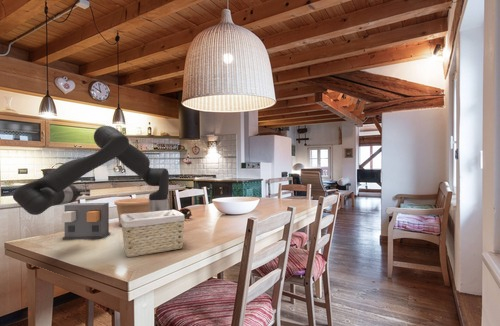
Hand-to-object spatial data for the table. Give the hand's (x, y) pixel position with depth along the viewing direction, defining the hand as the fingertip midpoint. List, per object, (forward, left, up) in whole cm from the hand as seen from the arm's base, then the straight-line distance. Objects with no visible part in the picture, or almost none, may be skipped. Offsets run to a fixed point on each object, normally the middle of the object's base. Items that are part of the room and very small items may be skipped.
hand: (85, 191), depth 127 cm
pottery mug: (-2, -63, -24) cm, 68 cm away
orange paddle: (+4, -7, -15) cm, 16 cm away
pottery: (+13, -39, -24) cm, 47 cm away
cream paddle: (+13, -1, -15) cm, 20 cm away
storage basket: (-32, -8, -24) cm, 41 cm away
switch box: (+11, -8, -24) cm, 27 cm away
